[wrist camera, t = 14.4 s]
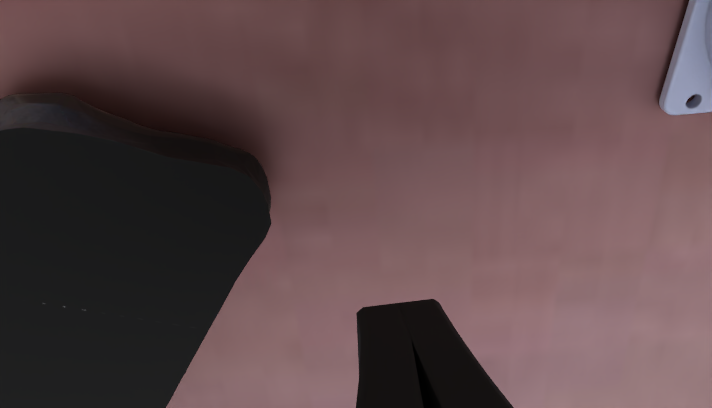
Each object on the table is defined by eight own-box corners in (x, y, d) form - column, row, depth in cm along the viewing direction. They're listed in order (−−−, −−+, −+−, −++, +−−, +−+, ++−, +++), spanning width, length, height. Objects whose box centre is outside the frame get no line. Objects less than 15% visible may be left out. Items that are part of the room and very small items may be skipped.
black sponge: (13, 34, 17) (-40, 96, 14) (291, 143, 20) (294, 212, 17) (-65, 380, 25) (-109, 464, 22) (142, 420, 28) (127, 498, 25)
